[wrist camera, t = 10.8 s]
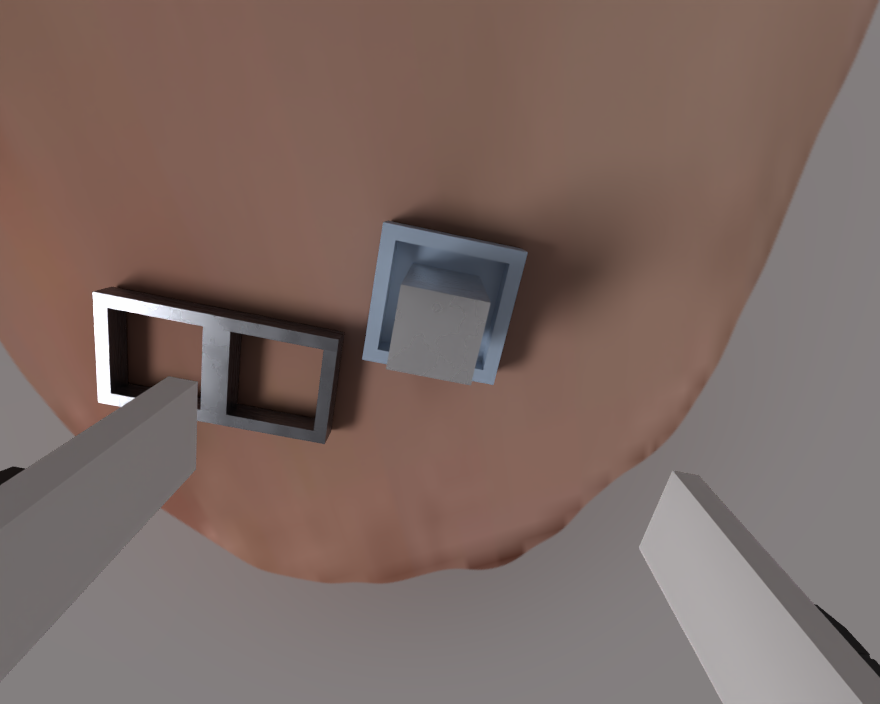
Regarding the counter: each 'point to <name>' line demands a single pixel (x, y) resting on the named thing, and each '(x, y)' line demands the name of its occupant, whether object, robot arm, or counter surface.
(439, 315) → the grey rectangular block
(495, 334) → the parts tray
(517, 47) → the counter surface
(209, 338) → the rack frame
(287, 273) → the counter surface
